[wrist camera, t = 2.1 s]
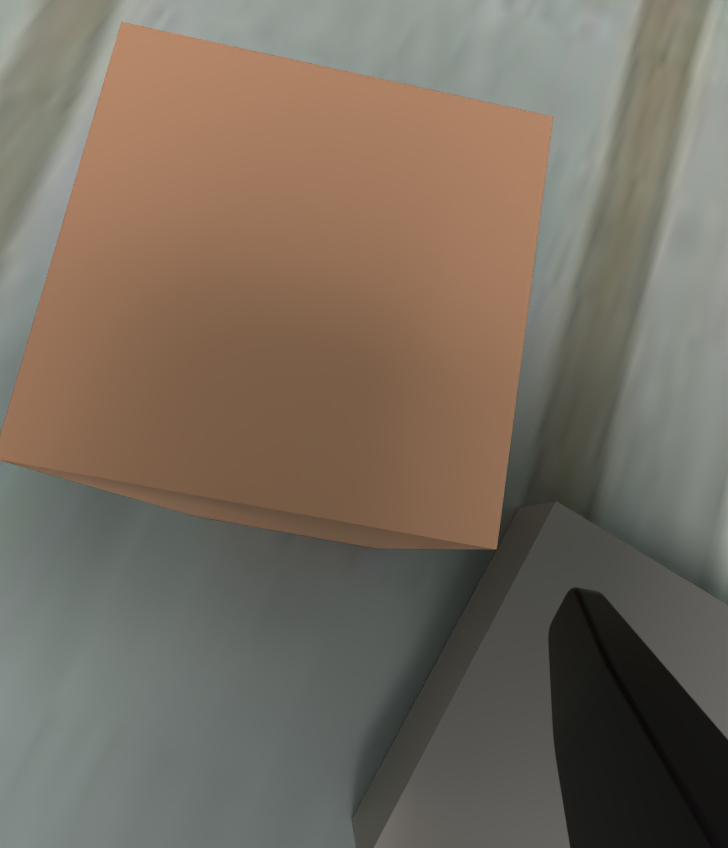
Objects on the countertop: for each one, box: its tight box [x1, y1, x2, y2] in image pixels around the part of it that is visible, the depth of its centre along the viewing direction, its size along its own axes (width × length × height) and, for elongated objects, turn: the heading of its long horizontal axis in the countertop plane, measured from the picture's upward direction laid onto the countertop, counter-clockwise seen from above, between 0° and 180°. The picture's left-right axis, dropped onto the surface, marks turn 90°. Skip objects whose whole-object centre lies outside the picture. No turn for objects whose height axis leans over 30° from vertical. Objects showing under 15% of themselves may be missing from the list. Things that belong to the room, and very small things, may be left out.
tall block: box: [0, 22, 553, 550], centre depth 14 cm, size 6×6×12 cm
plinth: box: [352, 501, 728, 848], centre depth 17 cm, size 10×10×3 cm
